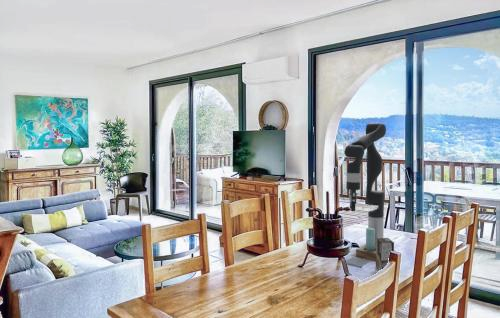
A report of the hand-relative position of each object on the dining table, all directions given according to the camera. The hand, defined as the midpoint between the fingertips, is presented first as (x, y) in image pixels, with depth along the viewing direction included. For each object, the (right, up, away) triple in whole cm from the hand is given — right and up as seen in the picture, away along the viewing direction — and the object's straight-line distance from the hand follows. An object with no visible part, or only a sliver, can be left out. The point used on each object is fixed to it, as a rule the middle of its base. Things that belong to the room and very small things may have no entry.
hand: (352, 209), depth 223 cm
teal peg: (+10, -26, 0) cm, 28 cm away
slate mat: (0, -27, -10) cm, 29 cm away
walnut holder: (+10, -26, 0) cm, 28 cm away
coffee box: (+10, -28, -24) cm, 38 cm away
